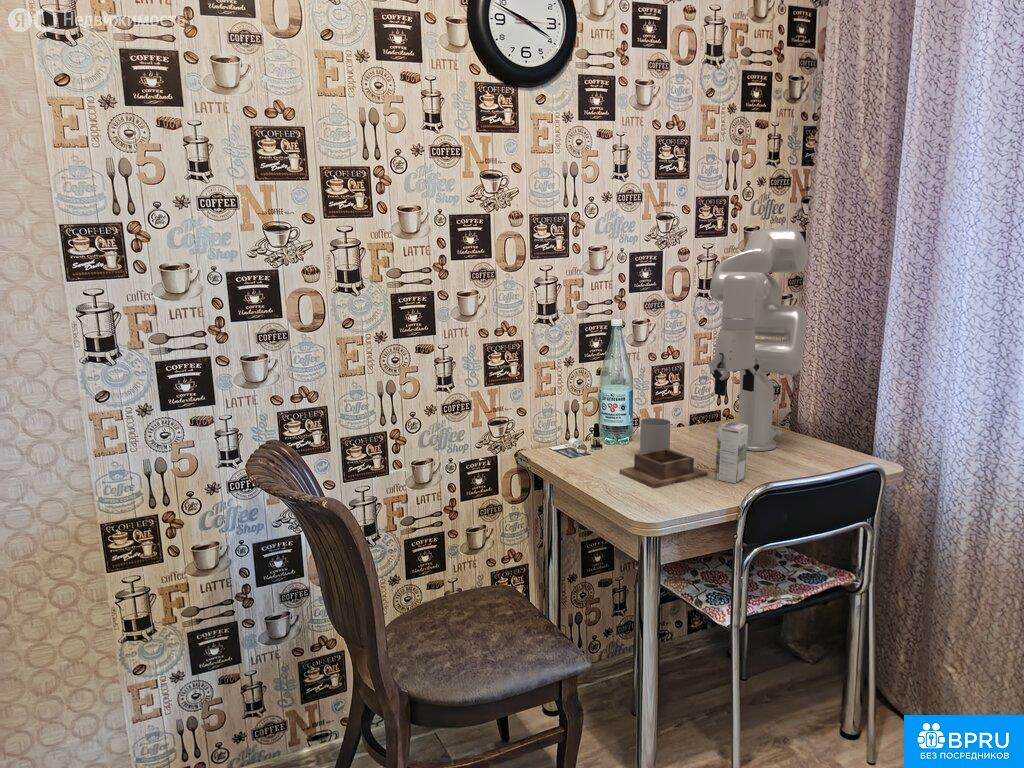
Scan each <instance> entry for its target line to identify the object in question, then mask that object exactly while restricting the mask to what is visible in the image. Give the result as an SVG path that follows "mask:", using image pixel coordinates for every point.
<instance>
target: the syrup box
mask: <svg viewBox="0 0 1024 768" xmlns="http://www.w3.org/2000/svg"><path fill="white" fill-rule="evenodd" d="M747 438H748V425H745V424H742V423H738V421H737V422H736V421H727V422H724V423H723V424H720V425H718V430H717V441H716V444H717V445H716V458H715V460H716V461H715V475H714V478H715V480H716V481H722V482H725V481H726V482H727V483H732V484H737V483H739V482H742V480H743V479H745V478H746V465H747V464H746V463H747V454H748V453H747V452H748V450H747Z"/></svg>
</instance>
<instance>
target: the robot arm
mask: <svg viewBox="0 0 1024 768" xmlns="http://www.w3.org/2000/svg"><path fill="white" fill-rule="evenodd" d="M808 261H809V252H808V248H807V244H806V242H805V238H804V236H803V235H802V233H801V232H800V231H799V230H798V229H794V228H762V229H759V230H756V231H754V232H753V233H752V234H751V235H750V236H749V238H748V240H747V242H746V244H745V246H744V248H743V251H741V252H739V253H737V254H734V255H732V256H730V257H728V258H725V259H723V260H722V261H721V262H720V263H719V264H718V265H717V267H716V269H715V270H714V273H713V274H712V278H711V280H710V286H709V290H710V295H711V296H712V298H713V299H714V300H716V301H719V302H722V315H721V330H719V331H718V334H717V338H716V342H715V348H714V350H715V351H714V356H713V357H714V358H713V359H712V360H710V361H709V362H708V367H709V371H710V374H711V376H712V378H713V379H714V395H718V396H721V397H724V396H726V394H727V379H725V378H727V375H728V373H729V372H730V373H731V372H732V373H733V372H739V390H738V391H739V393H738V394H739V395H738V415H737V417H738V418H737V423H742V424H745V425H748V438H747V451H751V452H752V451H753V452H754V451H755V452H766V451H771V450H774V449H776V448H777V442H776V441H775V440H774V438H775V437H778V436H781V435H782V434H783V431H782V430H781V429H780V428H778V429H773V412H774V411H773V409H774V394H775V388H774V385H773V383H772V381H771V379H770V378H769V377H768V376H767V374H779V375H796V374H797V373H799V372H800V370H801V367H802V364H803V355H804V348H805V338H806V330H807V314H806V311H805V310H804V308H803V307H801V306H799V305H793V304H782V298H783V289H782V287H781V285H780V284H779V282H778V281H777V280H776V278H774V276H772V275H771V273H780V274H781V273H785V274H786V273H789V274H790V273H791V274H794V273H795V274H796V273H800V272H803V271H804V270H805V269H806V267H807V265H808ZM756 337H762V338H756ZM764 338H765V339H764ZM766 338H775V339H766ZM776 338H778V340H777V339H776ZM779 338H780V339H782V340H779ZM783 339H785V340H783Z"/></svg>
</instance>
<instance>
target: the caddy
mask: <svg viewBox="0 0 1024 768" xmlns="http://www.w3.org/2000/svg"><path fill="white" fill-rule="evenodd" d="M633 460H634V462H633V463H634V465H633V466H630V467H625V468H620V469H619V474H621V475H623V476H625V477H627V478H630V479H632V480H634V481H636V482H638V483H641V484H644V485H646V486H649V487H650V488H653V489H658V488H661V486H662V487H666V486H670V485H669V484H671V485H675V484H679V483H683V482H687V480H688V481H692V480H695V478H696V479H699V477H700V478H704V476H705V477H708V476H709V472H708V471H706V470H703V469H700V468H698V467H695V466H694V464H695V463H694V462H695V461H694V460H695V458H694V457H692V456H689V455H686V454H683V453H681V452H678V451H676V450H673V449H671V448H670V449H667V448H663V449H658V450H654V451H649V452H644V453H640V452H639V453H635V454H634V459H633ZM691 479H692V480H691ZM678 482H679V483H678ZM674 483H675V484H674ZM665 485H666V486H665ZM657 487H658V488H657Z"/></svg>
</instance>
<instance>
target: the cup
mask: <svg viewBox="0 0 1024 768" xmlns="http://www.w3.org/2000/svg"><path fill="white" fill-rule="evenodd" d="M639 433H640V435H639V436H640V437H639V441H640V442H639V453H644V452H649V451H654V450H658V449H663V448H667V449H670V450H671V421H670V420H669V419H666V418H659V417H650V418H649V417H648V418H643V419H641V420H640V431H639Z"/></svg>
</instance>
